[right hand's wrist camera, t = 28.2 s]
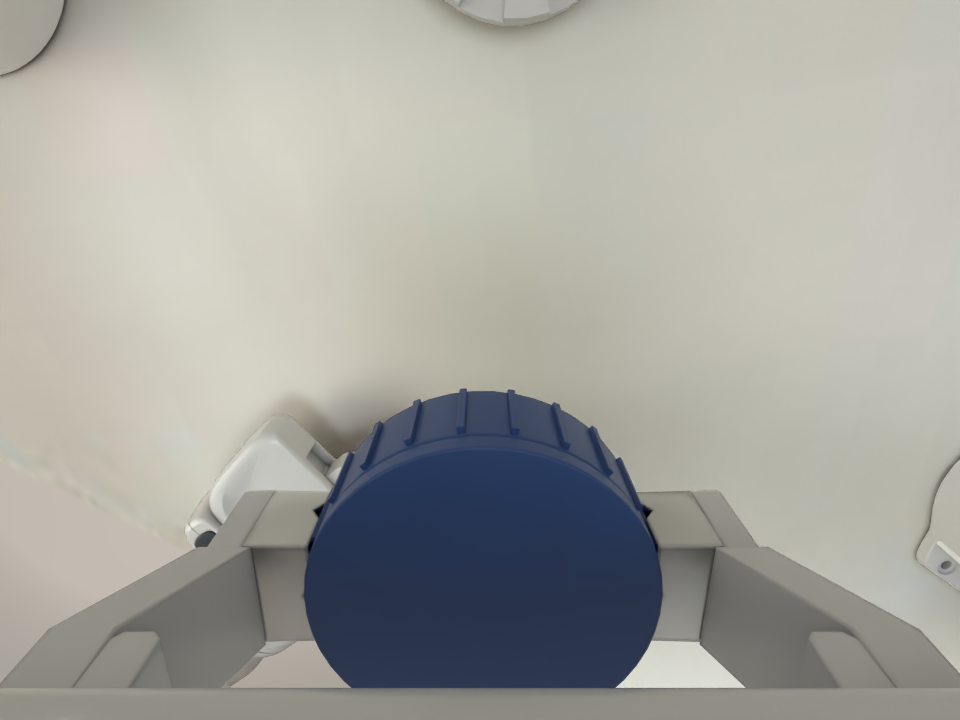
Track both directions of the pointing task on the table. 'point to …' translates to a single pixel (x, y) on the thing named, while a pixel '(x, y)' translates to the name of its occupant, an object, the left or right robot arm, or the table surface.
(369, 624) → the lid
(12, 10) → the left robot arm
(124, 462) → the table surface
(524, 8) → the flag stand
